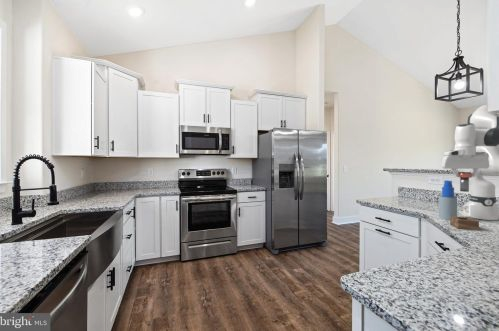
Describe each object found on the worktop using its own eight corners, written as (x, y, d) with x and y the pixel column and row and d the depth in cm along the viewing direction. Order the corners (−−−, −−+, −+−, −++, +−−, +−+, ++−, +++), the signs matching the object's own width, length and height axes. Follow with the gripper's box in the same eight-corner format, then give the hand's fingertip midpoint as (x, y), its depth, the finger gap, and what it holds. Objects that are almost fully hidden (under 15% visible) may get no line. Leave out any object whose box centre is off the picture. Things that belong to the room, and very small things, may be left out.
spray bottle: (437, 216, 153) (437, 179, 153) (453, 217, 150) (454, 180, 149) (441, 219, 145) (442, 181, 144) (459, 221, 141) (460, 181, 141)
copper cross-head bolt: (460, 191, 126) (460, 172, 126) (455, 190, 132) (455, 171, 131) (474, 192, 124) (474, 172, 124) (468, 190, 130) (468, 171, 129)
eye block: (450, 224, 135) (450, 216, 134) (469, 225, 131) (469, 217, 131) (458, 229, 126) (458, 220, 126) (478, 230, 123) (478, 221, 123)
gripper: (485, 151, 127) (484, 176, 127) (440, 152, 134) (440, 176, 134) (492, 151, 121) (492, 177, 121) (445, 152, 128) (445, 176, 128)
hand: (464, 176), depth 128 cm, fingers closed on copper cross-head bolt, 6 cm apart
